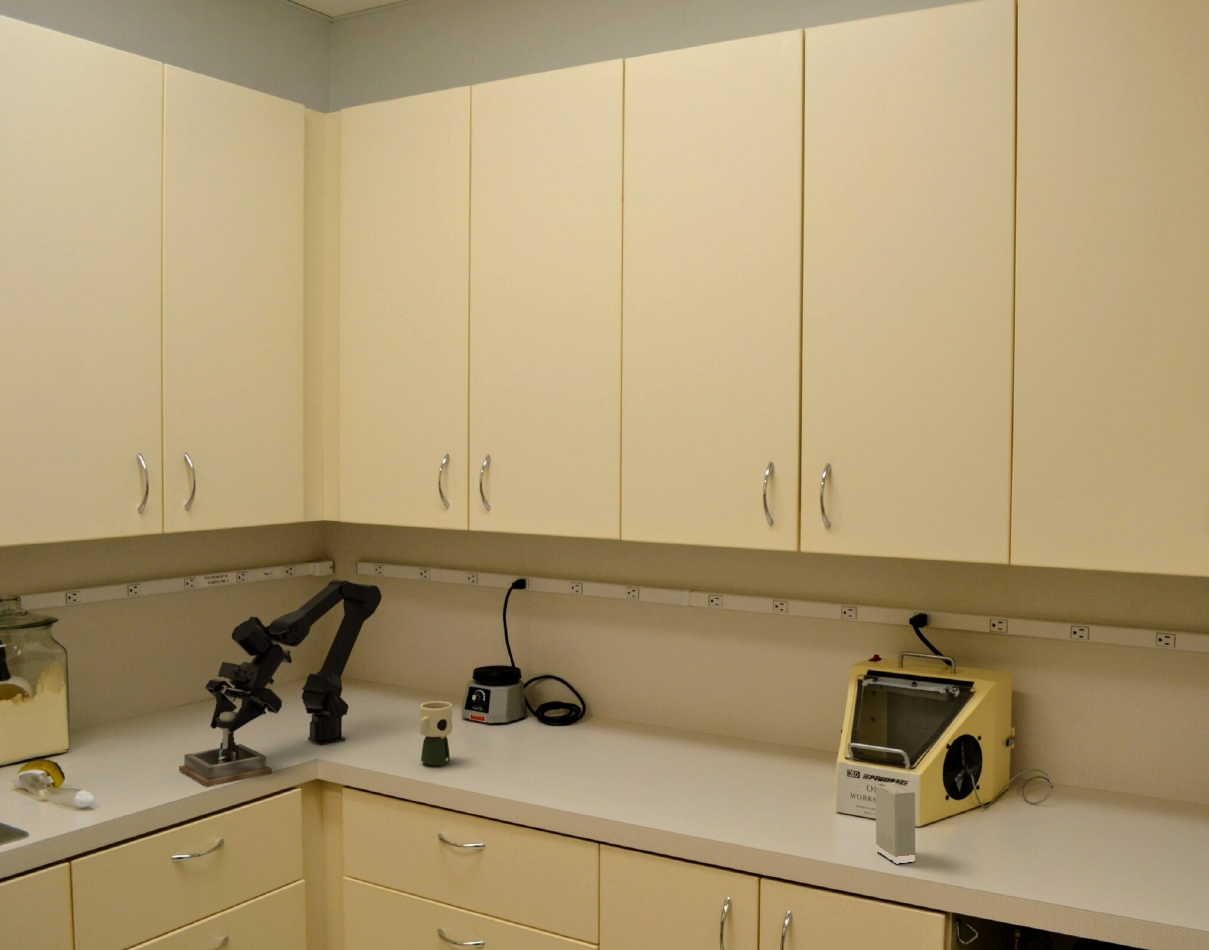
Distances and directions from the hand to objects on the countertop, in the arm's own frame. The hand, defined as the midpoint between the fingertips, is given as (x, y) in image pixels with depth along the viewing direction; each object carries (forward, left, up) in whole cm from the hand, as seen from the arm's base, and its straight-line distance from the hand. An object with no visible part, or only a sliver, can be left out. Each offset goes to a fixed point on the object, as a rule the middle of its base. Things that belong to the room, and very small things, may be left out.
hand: (220, 729), depth 217 cm
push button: (-1, 0, -7) cm, 7 cm away
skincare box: (-67, +120, -9) cm, 138 cm away
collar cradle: (-1, 0, -9) cm, 9 cm away
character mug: (-38, +24, -9) cm, 46 cm away
